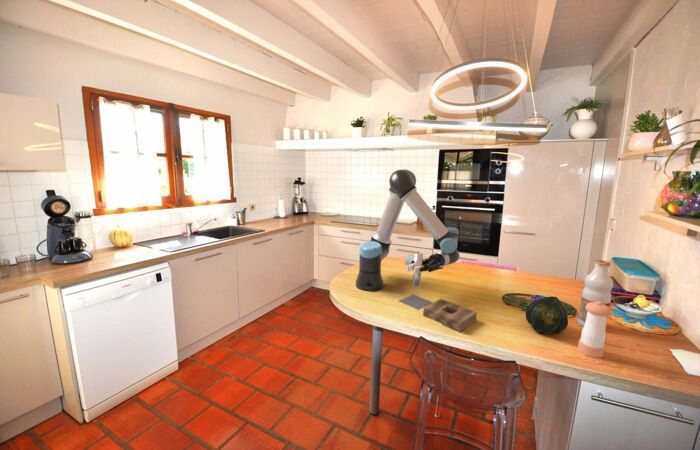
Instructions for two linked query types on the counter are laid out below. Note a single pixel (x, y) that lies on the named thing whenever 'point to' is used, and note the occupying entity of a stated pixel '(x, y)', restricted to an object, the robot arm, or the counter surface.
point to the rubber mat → (415, 302)
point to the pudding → (537, 297)
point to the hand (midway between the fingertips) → (410, 269)
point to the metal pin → (416, 264)
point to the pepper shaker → (594, 330)
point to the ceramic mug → (409, 259)
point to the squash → (547, 315)
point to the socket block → (450, 315)
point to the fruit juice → (596, 289)
